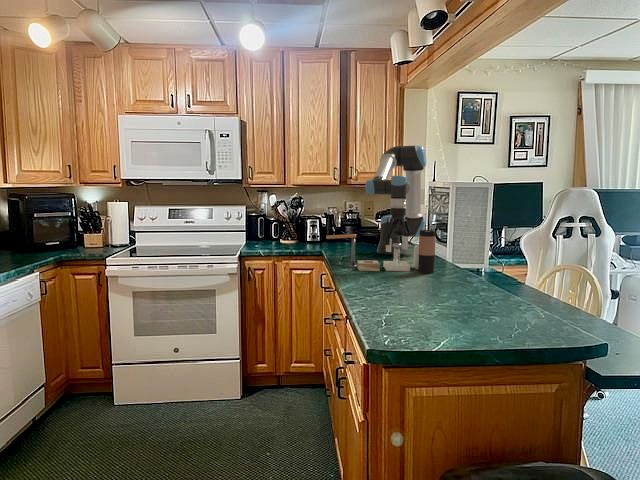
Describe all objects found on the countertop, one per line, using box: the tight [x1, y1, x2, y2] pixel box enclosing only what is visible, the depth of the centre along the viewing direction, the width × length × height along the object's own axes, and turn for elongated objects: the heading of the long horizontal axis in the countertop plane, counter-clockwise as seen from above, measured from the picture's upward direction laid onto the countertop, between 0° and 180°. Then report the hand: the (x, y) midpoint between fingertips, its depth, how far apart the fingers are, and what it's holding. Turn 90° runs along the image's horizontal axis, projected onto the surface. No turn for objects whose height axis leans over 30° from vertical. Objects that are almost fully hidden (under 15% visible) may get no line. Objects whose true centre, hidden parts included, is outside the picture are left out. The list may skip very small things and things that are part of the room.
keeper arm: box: [325, 233, 357, 240], centre depth 235 cm, size 17×3×1 cm, turn 122°
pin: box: [392, 242, 402, 265], centre depth 234 cm, size 4×4×12 cm
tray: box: [382, 260, 411, 272], centre depth 235 cm, size 11×11×3 cm
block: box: [356, 259, 381, 272], centre depth 234 cm, size 10×10×4 cm
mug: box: [413, 244, 419, 270], centre depth 238 cm, size 12×9×11 cm
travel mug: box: [418, 229, 437, 275], centre depth 226 cm, size 8×8×20 cm
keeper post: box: [348, 237, 357, 268], centre depth 240 cm, size 4×4×15 cm
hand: (396, 250), depth 234 cm, fingers open, 13 cm apart
